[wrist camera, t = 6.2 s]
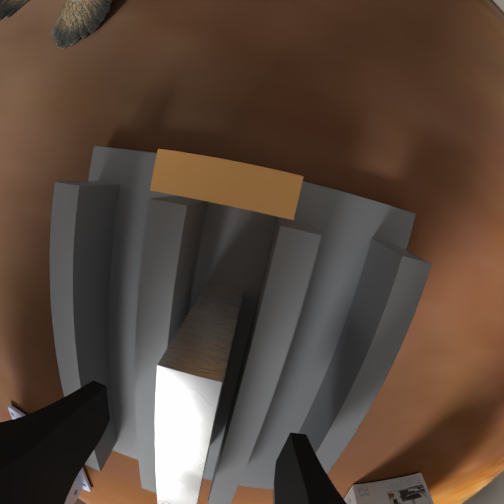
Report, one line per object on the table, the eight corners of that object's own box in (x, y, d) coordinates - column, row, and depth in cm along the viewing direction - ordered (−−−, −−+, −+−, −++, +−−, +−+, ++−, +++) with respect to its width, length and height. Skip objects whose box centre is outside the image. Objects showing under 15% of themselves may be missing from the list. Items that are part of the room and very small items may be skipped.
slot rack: (291, 480, 16) (294, 559, 9) (102, 435, 16) (62, 501, 9) (405, 211, 12) (515, 240, 5) (105, 148, 12) (-9, 132, 5)
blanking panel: (210, 445, 14) (191, 529, 8) (185, 439, 14) (158, 520, 8) (243, 290, 12) (221, 382, 6) (207, 282, 12) (157, 365, 6)
